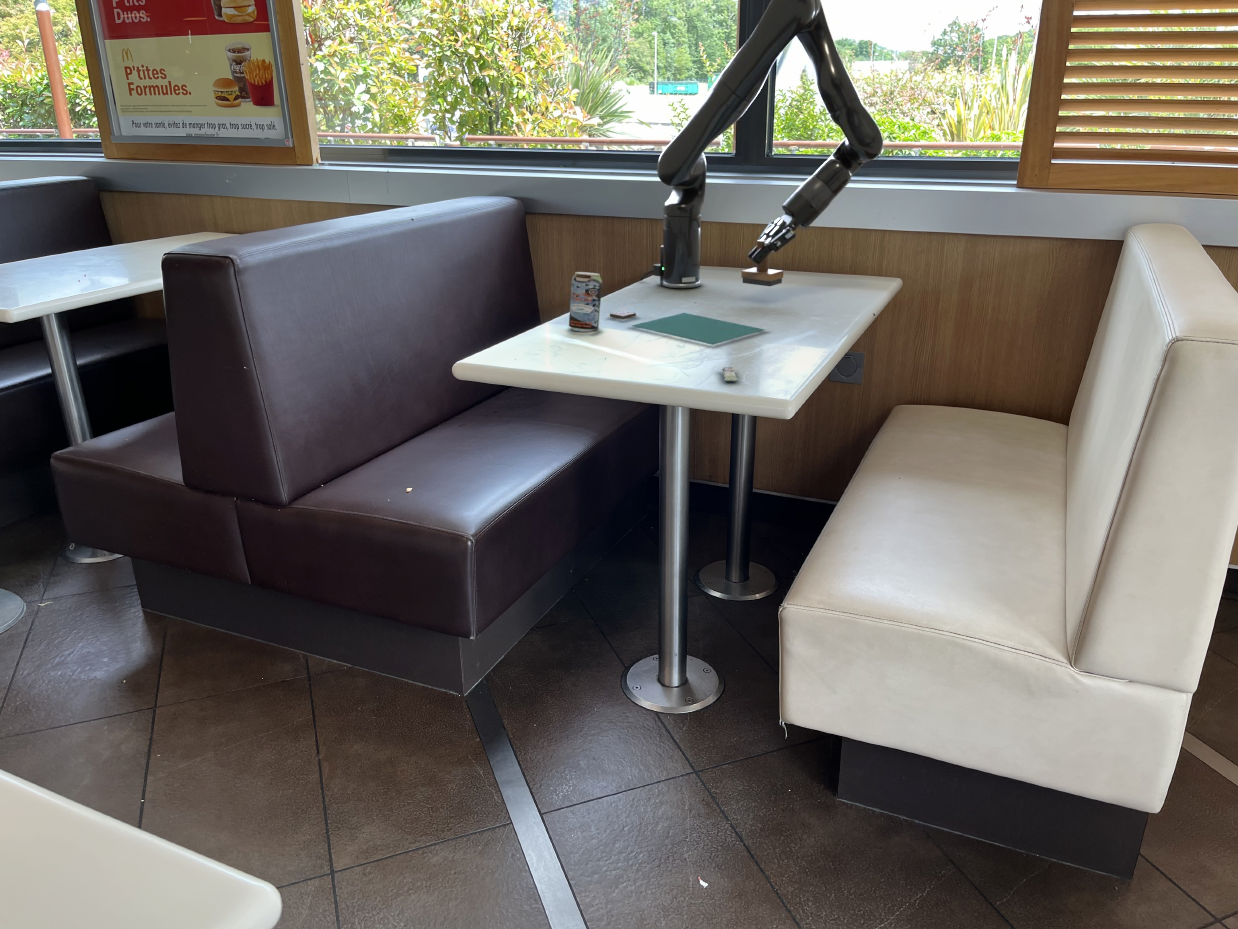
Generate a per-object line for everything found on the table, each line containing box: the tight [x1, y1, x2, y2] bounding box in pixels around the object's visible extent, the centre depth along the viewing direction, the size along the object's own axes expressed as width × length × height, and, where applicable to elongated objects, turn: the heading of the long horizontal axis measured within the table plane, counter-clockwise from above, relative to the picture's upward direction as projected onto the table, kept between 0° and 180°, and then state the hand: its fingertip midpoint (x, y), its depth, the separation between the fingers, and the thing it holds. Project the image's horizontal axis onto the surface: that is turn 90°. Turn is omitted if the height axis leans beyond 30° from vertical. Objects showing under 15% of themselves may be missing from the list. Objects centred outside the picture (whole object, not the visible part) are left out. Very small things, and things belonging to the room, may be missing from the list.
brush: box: [741, 239, 784, 287], centre depth 200 cm, size 8×5×10 cm, turn 46°
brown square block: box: [609, 310, 637, 320], centre depth 191 cm, size 4×4×1 cm
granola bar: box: [721, 366, 739, 382], centre depth 150 cm, size 7×2×1 cm, turn 179°
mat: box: [631, 312, 766, 345], centre depth 181 cm, size 22×16×1 cm
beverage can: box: [568, 271, 603, 333], centre depth 179 cm, size 6×7×12 cm
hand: (752, 260), depth 200 cm, fingers closed on brush, 2 cm apart
